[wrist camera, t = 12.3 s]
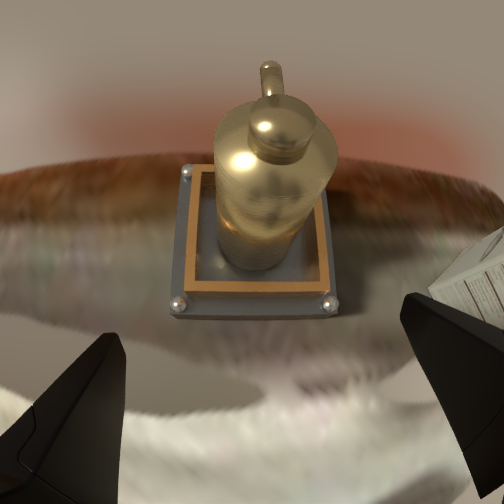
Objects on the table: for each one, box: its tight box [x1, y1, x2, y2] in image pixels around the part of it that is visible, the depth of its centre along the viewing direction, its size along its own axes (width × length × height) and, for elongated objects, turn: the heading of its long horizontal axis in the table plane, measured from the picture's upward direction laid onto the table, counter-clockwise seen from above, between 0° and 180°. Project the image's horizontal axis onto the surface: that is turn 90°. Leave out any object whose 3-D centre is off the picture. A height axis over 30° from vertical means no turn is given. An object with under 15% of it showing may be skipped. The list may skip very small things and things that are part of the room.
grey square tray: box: [170, 164, 339, 320], centre depth 21 cm, size 11×11×5 cm
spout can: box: [214, 61, 338, 271], centre depth 15 cm, size 6×5×12 cm
